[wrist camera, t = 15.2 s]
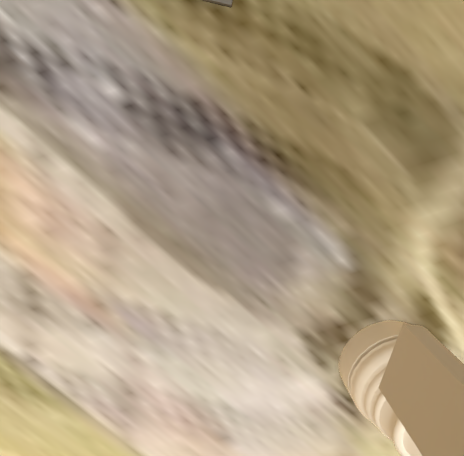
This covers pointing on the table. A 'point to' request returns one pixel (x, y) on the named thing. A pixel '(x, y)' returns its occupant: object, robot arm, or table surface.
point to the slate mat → (221, 2)
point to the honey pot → (374, 380)
